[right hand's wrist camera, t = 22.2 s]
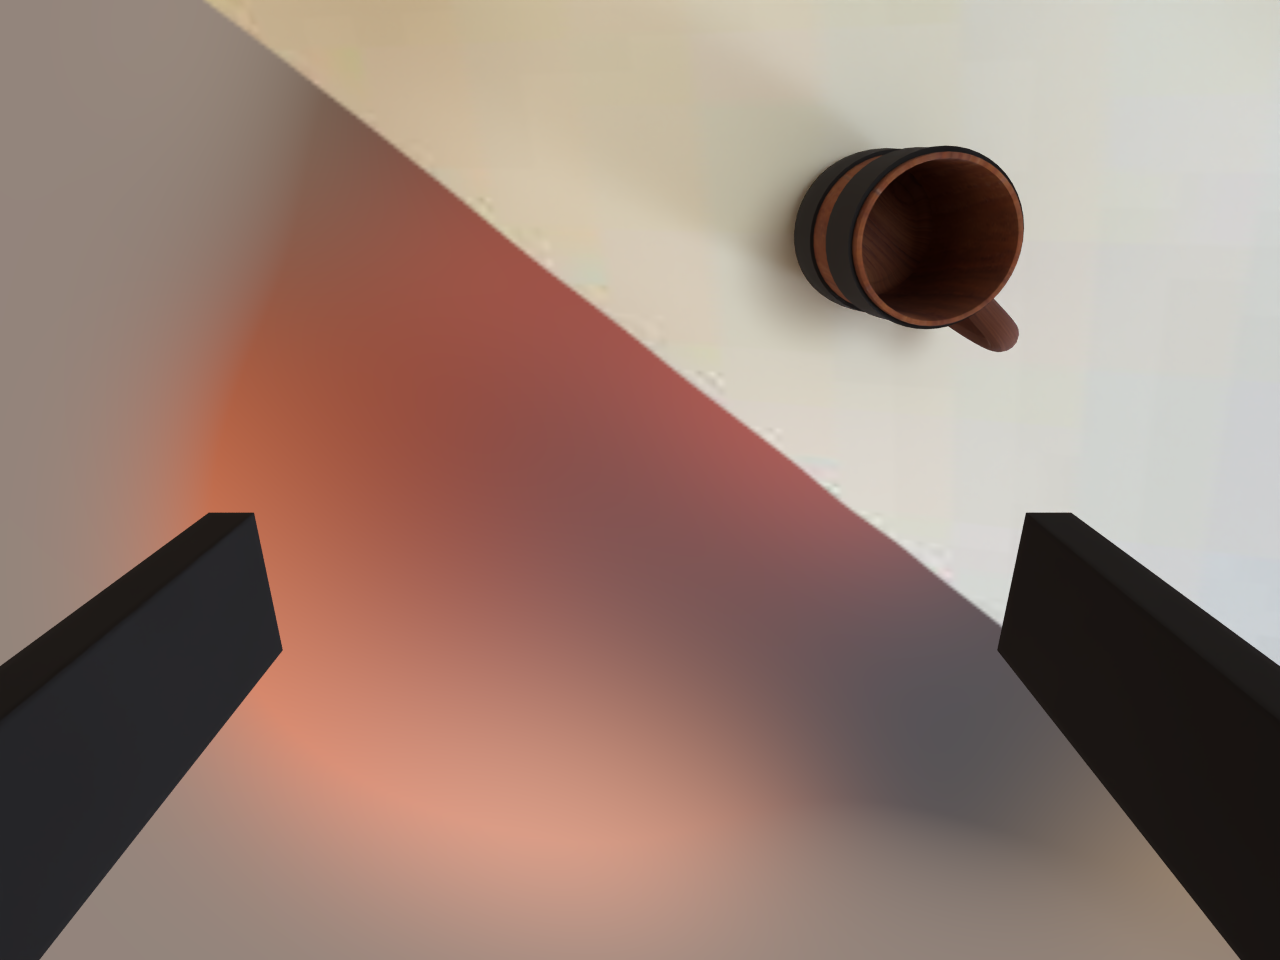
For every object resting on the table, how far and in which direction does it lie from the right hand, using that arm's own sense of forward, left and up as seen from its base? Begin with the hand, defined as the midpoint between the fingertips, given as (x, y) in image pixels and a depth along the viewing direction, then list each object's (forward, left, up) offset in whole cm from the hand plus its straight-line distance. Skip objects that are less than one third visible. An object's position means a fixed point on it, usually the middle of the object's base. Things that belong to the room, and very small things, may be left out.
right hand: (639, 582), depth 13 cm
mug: (+14, +4, -34) cm, 38 cm away
